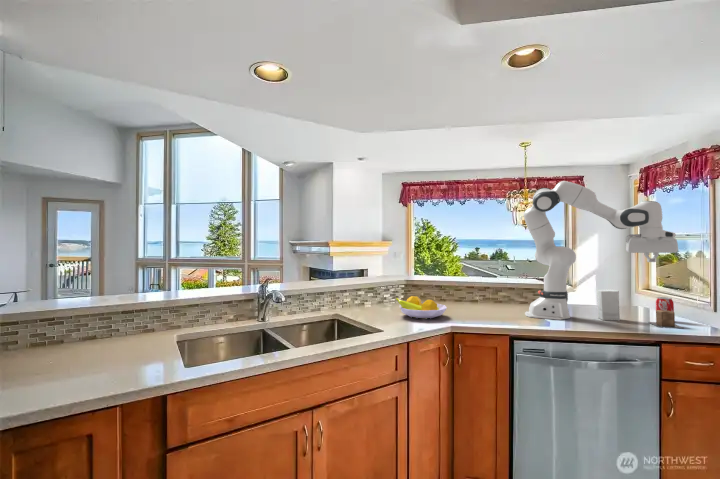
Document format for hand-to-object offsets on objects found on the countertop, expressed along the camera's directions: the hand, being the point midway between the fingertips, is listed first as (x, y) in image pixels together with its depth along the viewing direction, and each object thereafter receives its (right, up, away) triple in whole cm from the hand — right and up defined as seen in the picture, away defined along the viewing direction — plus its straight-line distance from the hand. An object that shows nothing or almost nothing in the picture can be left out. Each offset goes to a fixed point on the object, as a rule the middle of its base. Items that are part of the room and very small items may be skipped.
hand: (651, 262), depth 172 cm
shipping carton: (+6, -31, 0) cm, 31 cm away
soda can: (+15, -31, +10) cm, 36 cm away
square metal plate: (+7, -31, 0) cm, 32 cm away
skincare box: (-11, -32, +15) cm, 36 cm away
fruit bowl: (-109, -33, +27) cm, 117 cm away
